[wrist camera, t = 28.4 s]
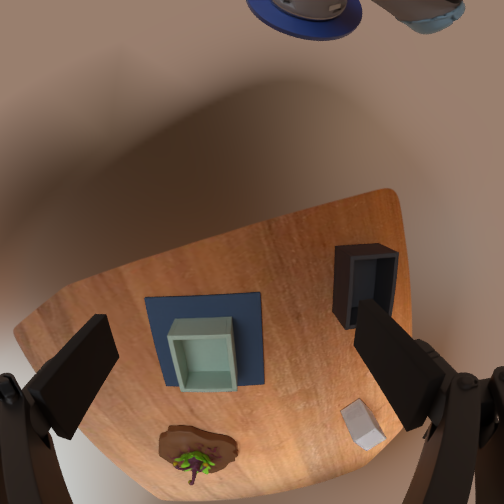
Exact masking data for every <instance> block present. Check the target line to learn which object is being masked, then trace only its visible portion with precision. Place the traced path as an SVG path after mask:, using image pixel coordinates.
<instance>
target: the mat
mask: <svg viewBox="0 0 504 504" xmlns="http://www.w3.org/2000/svg"><path fill="white" fill-rule="evenodd" d="M144 299H145V304H146V309H147V314H148V318H149V323H150V327H151V331H152V336H153V340H154V344H155V348H156V352H157V355H158V359H159V363H160V366H161V370H162V373H163V377H164V380H165V383H166V386H179V383H178V379H177V375H176V371H175V367H174V363H173V359H172V355H171V351H170V347H169V342H168V338H167V335H168V333H169V330H170V328H171V326H172V324H173V322H174V320H175V319H183V318H213V317H232V323H233V333H234V343H235V353H236V362H237V386H246V385H261V384H264V363H263V341H262V319H261V297H260V292H250V293H234V294H216V295H195V296H169V297H145V298H144ZM179 387H180V386H179Z"/></svg>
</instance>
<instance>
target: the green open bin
mask: <svg viewBox="0 0 504 504" xmlns="http://www.w3.org/2000/svg"><path fill="white" fill-rule="evenodd" d="M167 338H168V342H169V347H170V351H171V355H172V359H173V363H174V367H175V371H176V375H177V379H178V383H179V386H180V390H181V392H232V391H237V362H236V353H235V343H234V333H233V323H232V317H213V318H183V319H175V320H174V322H173V324H172V326H171V328H170V330H169V333H168V335H167Z"/></svg>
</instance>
